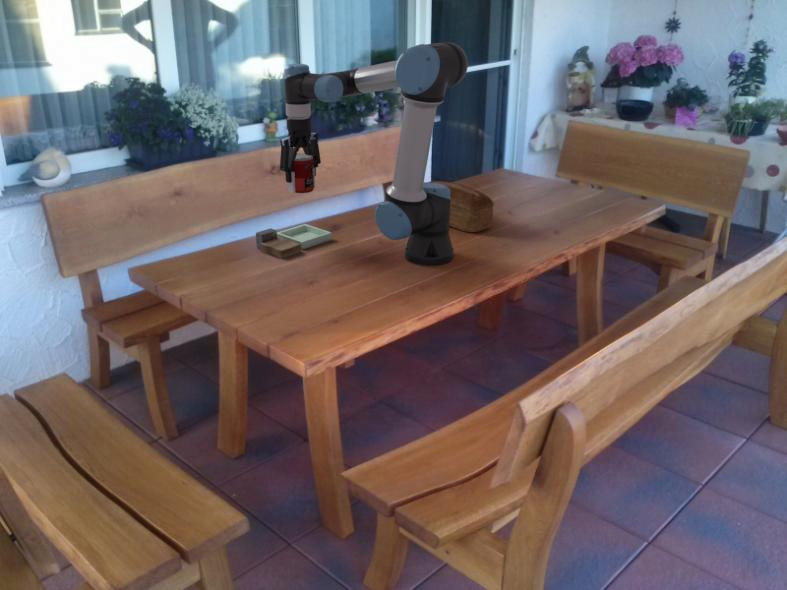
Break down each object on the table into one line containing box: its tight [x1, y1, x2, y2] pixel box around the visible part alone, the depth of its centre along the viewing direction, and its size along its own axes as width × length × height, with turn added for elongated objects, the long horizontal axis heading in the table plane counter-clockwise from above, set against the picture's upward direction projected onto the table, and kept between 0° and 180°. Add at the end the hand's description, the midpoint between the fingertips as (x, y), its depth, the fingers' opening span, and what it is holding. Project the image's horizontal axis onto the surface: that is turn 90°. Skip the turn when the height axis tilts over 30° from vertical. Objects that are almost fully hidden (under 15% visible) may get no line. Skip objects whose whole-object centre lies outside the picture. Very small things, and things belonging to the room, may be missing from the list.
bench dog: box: [255, 228, 278, 250], centre depth 239 cm, size 3×6×5 cm, turn 138°
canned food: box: [292, 152, 315, 194], centre depth 237 cm, size 8×8×11 cm
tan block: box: [259, 237, 302, 259], centre depth 236 cm, size 10×8×3 cm
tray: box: [277, 223, 333, 251], centre depth 245 cm, size 13×13×2 cm
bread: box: [428, 180, 495, 233], centre depth 261 cm, size 12×31×14 cm, turn 44°
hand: (301, 189), depth 239 cm, fingers closed on canned food, 8 cm apart
